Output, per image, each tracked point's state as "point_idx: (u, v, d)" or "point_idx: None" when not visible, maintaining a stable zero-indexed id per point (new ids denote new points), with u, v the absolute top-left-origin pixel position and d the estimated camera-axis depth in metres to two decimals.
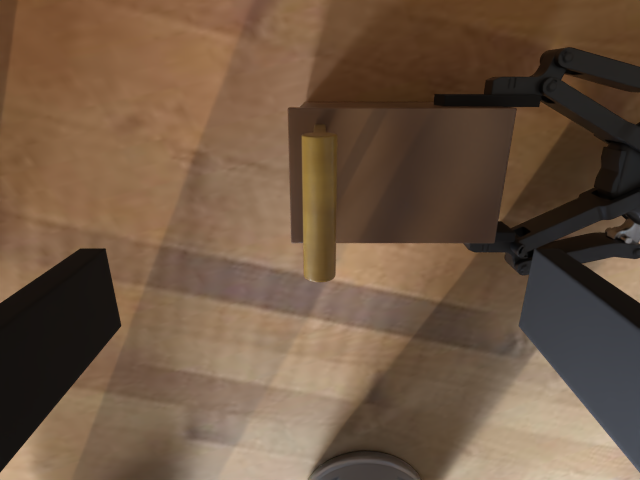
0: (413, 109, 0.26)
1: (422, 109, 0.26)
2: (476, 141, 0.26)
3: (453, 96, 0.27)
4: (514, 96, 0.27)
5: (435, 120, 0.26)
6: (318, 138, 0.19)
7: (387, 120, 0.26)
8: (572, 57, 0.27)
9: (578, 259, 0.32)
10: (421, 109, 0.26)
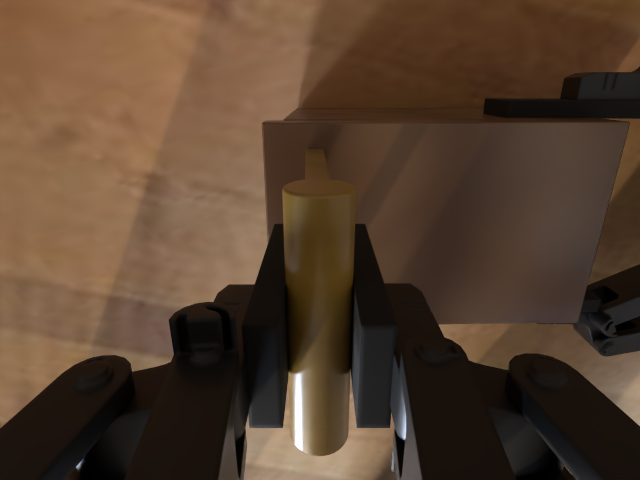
0: (466, 124, 0.16)
1: (480, 124, 0.16)
2: (562, 174, 0.17)
3: (520, 102, 0.18)
4: (615, 102, 0.18)
5: (500, 142, 0.16)
6: (317, 199, 0.09)
7: (423, 142, 0.16)
8: None
9: None
10: (479, 124, 0.16)
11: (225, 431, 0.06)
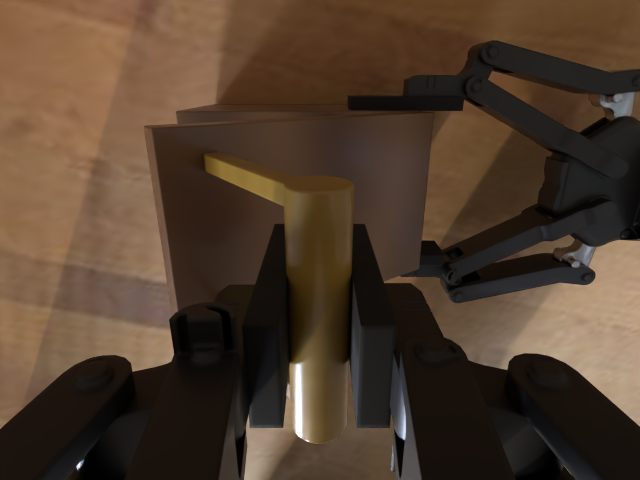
0: (337, 119, 0.18)
1: (346, 119, 0.18)
2: (401, 155, 0.21)
3: (360, 98, 0.23)
4: (432, 98, 0.23)
5: (361, 133, 0.19)
6: (339, 194, 0.09)
7: (307, 137, 0.17)
8: (498, 52, 0.22)
9: (519, 285, 0.28)
10: (345, 119, 0.18)
11: (225, 431, 0.06)
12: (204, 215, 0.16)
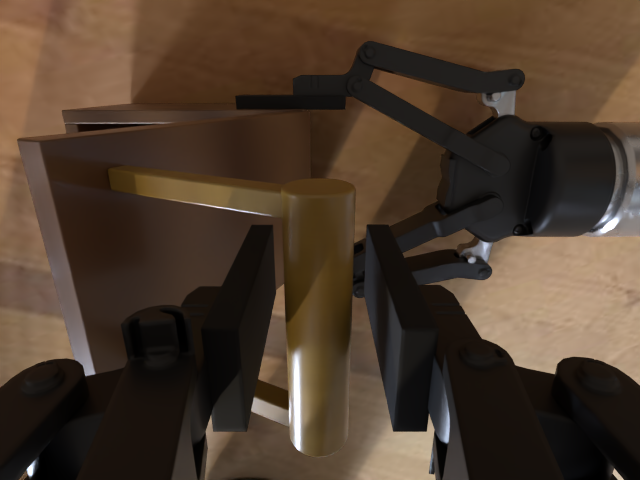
0: (235, 121, 0.17)
1: (244, 120, 0.17)
2: (290, 154, 0.21)
3: (245, 97, 0.24)
4: (315, 97, 0.24)
5: (257, 134, 0.18)
6: (351, 194, 0.09)
7: (211, 142, 0.16)
8: (375, 52, 0.23)
9: (418, 280, 0.28)
10: (243, 120, 0.17)
11: (179, 433, 0.06)
12: (115, 244, 0.13)
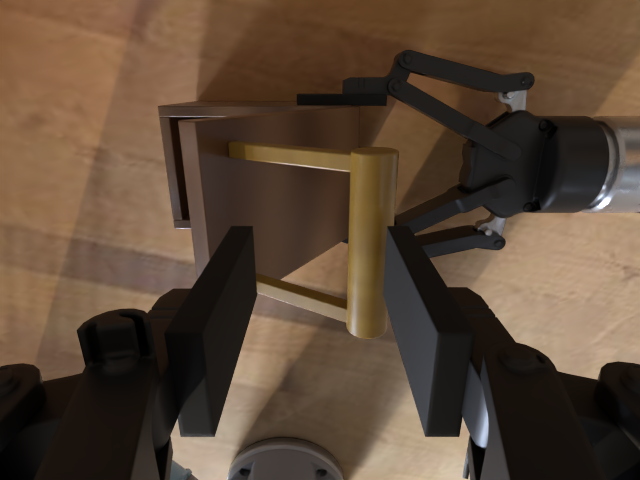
0: (306, 113, 0.23)
1: (312, 112, 0.23)
2: (343, 141, 0.27)
3: (304, 95, 0.29)
4: (361, 95, 0.29)
5: (320, 123, 0.24)
6: (396, 155, 0.14)
7: (289, 127, 0.21)
8: (412, 59, 0.28)
9: (443, 250, 0.34)
10: (311, 112, 0.23)
11: (138, 437, 0.06)
12: (228, 195, 0.19)
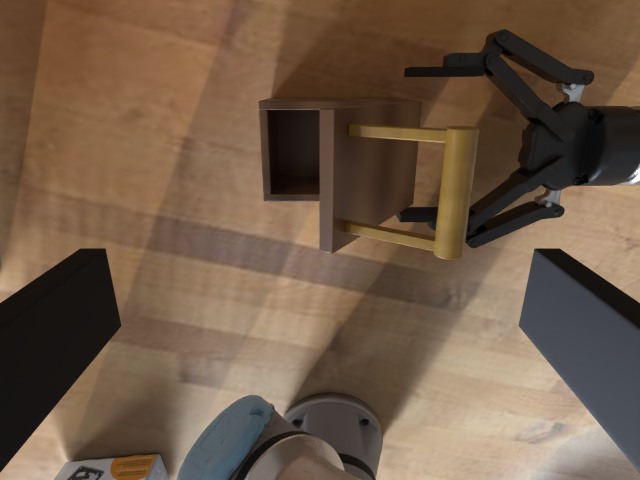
0: (390, 105, 0.30)
1: (393, 105, 0.30)
2: None
3: (417, 68, 0.36)
4: (464, 67, 0.36)
5: (397, 113, 0.31)
6: (479, 130, 0.22)
7: (380, 116, 0.29)
8: (506, 38, 0.35)
9: (513, 227, 0.41)
10: (393, 105, 0.30)
11: None
12: (346, 163, 0.26)
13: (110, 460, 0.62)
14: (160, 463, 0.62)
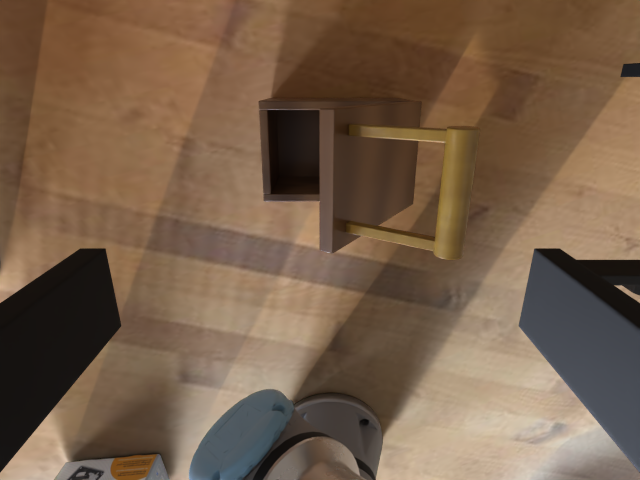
0: (390, 105, 0.30)
1: (393, 105, 0.30)
2: None
3: None
4: None
5: (397, 113, 0.31)
6: (479, 130, 0.22)
7: (380, 116, 0.29)
8: None
9: None
10: (393, 105, 0.30)
11: None
12: (346, 163, 0.26)
13: (110, 460, 0.62)
14: (160, 463, 0.62)
